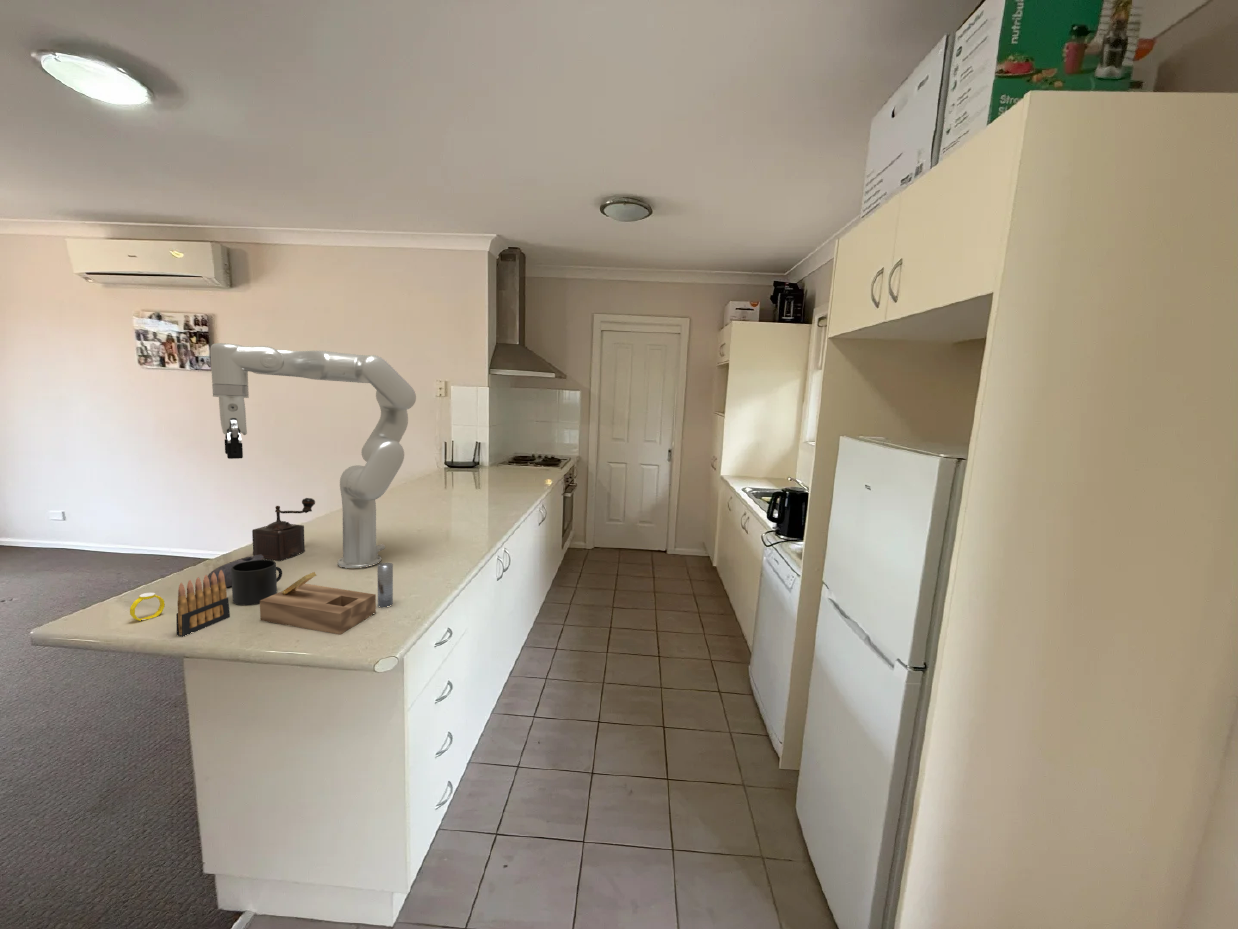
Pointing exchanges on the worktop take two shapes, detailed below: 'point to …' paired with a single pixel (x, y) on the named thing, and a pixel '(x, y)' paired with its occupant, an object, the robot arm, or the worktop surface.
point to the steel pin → (385, 584)
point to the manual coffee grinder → (281, 536)
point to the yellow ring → (143, 597)
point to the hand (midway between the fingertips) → (233, 456)
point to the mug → (254, 581)
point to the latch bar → (299, 583)
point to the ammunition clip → (202, 604)
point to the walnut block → (318, 608)
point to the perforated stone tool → (227, 569)
